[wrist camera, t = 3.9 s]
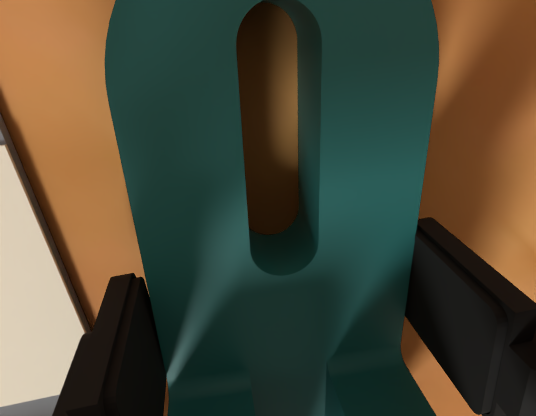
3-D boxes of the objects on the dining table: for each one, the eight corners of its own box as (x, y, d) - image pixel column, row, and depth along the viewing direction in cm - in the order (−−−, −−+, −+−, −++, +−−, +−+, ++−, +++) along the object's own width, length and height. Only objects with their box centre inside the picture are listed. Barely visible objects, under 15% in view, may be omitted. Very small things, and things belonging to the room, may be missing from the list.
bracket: (358, 432, 17) (475, 730, 10) (198, 462, 16) (197, 814, 9) (405, -87, 9) (1174, -500, 2) (95, -84, 8) (-604, -820, 1)
